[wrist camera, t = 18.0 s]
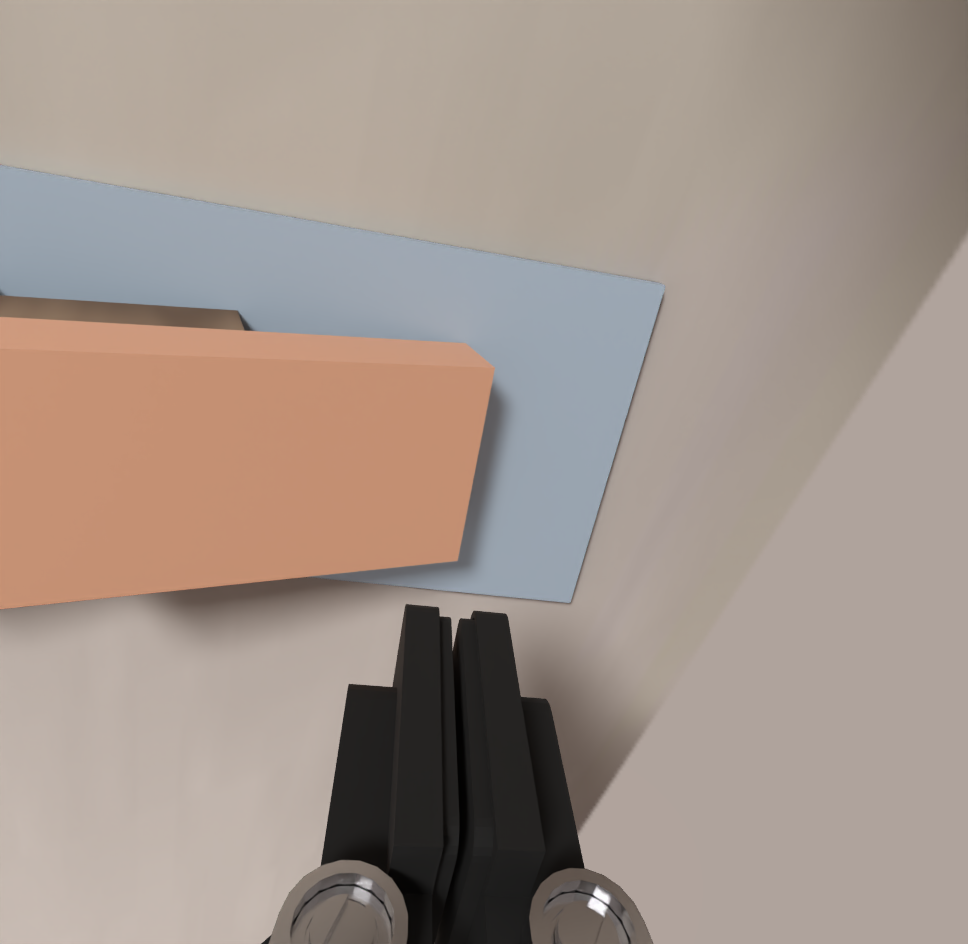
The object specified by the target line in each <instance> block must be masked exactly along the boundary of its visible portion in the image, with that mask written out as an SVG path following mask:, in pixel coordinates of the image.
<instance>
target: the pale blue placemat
mask: <svg viewBox="0 0 968 944" xmlns="http://www.w3.org/2000/svg"><path fill="white" fill-rule="evenodd" d="M664 290H665V285H663V284H661V283H657V282H652V281H646V280H640V279H635V278H629V277H624V276H618V275H612V274H607V273H601V272H596V271H590V270H584V269H579V268H573V267H568V266H562V265H557V264H551V263H545V262H540V261H534V260H529V259H523V258H517V257H512V256H506V255H501V254H495V253H489V252H484V251H478V250H473V249H467V248H462V247H456V246H450V245H445V244H439V243H434V242H428V241H422V240H417V239H411V238H406V237H400V236H395V235H389V234H383V233H378V232H372V231H367V230H361V229H355V228H350V227H344V226H339V225H333V224H327V223H322V222H316V221H311V220H305V219H300V218H294V217H288V216H283V215H277V214H272V213H266V212H260V211H255V210H249V209H244V208H238V207H233V206H227V205H221V204H216V203H210V202H205V201H199V200H193V199H188V198H182V197H177V196H171V195H165V194H160V193H154V192H149V191H143V190H138V189H132V188H126V187H121V186H115V185H110V184H104V183H98V182H93V181H87V180H82V179H76V178H71V177H65V176H59V175H54V174H48V173H43V172H37V171H31V170H26V169H20V168H15V167H9V166H3V165H0V295H3V296H19V297H34V298H50V299H66V300H81V301H97V302H113V303H128V304H144V305H160V306H175V307H191V308H207V309H222V310H237V311H238V314H239V317H240V319H241V322H242V325H243V327H244V330H245V331H261V332H278V333H296V334H314V335H332V336H349V337H367V338H385V339H402V340H420V341H438V342H456V343H466V344H467V345H468V346H470V347H471V348H472V349H473V350H474V351H476V352H477V353H478V354H479V355H480V356H482V357H483V358H484V359H485V360H486V361H488V362H489V363H490V364H491V365H492V366H493V367H495V371H494V376H493V381H492V386H491V391H490V397H489V402H488V407H487V412H486V417H485V422H484V428H483V433H482V438H481V443H480V448H479V453H478V458H477V464H476V469H475V474H474V479H473V484H472V489H471V494H470V500H469V505H468V510H467V515H466V520H465V525H464V531H463V536H462V541H461V546H460V551H459V556H458V561H452V562H443V563H433V564H424V565H414V566H405V567H395V568H386V569H376V570H367V571H357V572H348V573H339V574H329V575H320V576H310V577H313V578H323V579H333V580H343V581H353V582H363V583H373V584H383V585H393V586H403V587H414V588H424V589H434V590H444V591H454V592H464V593H474V594H484V595H494V596H504V597H515V598H525V599H535V600H545V601H555V602H565V603H570V602H571V599H572V595H573V592H574V589H575V586H576V582H577V579H578V576H579V572H580V569H581V566H582V562H583V559H584V556H585V552H586V549H587V546H588V542H589V539H590V536H591V532H592V529H593V526H594V522H595V519H596V516H597V512H598V509H599V506H600V502H601V499H602V496H603V492H604V489H605V486H606V482H607V479H608V476H609V473H610V469H611V466H612V463H613V459H614V456H615V453H616V449H617V446H618V443H619V439H620V436H621V433H622V429H623V426H624V423H625V419H626V416H627V413H628V409H629V406H630V403H631V399H632V396H633V393H634V389H635V386H636V383H637V379H638V376H639V373H640V369H641V366H642V363H643V359H644V356H645V353H646V350H647V346H648V343H649V340H650V336H651V333H652V330H653V326H654V323H655V320H656V316H657V313H658V310H659V306H660V303H661V300H662V296H663V293H664Z"/></svg>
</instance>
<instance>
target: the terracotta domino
mask: <svg viewBox="0 0 968 944" xmlns="http://www.w3.org/2000/svg"><path fill="white" fill-rule="evenodd" d="M494 371H495V367H493V366H492V365H491V364H490V363H489V362H488V361H486V360H485V359H484V358H483V357H482V356H480V355H479V354H478V353H477V352H476V351H474V350H473V349H472V348H471V347H470V346H468V345H467V344H466V343H456V342H438V341H420V340H402V339H385V338H367V337H349V336H332V335H314V334H296V333H278V332H261V331H243V330H225V329H208V328H190V327H172V326H154V325H137V324H119V323H101V322H84V321H66V320H48V319H30V318H13V317H0V609H7V608H16V607H26V606H35V605H45V604H54V603H64V602H73V601H83V600H92V599H102V598H111V597H121V596H130V595H139V594H149V593H158V592H168V591H177V590H187V589H196V588H206V587H215V586H225V585H234V584H244V583H253V582H263V581H272V580H282V579H291V578H301V577H310V576H320V575H329V574H339V573H348V572H357V571H367V570H376V569H386V568H395V567H405V566H414V565H424V564H433V563H443V562H452V561H458V556H459V551H460V546H461V541H462V536H463V531H464V525H465V520H466V515H467V510H468V505H469V500H470V494H471V489H472V484H473V479H474V474H475V469H476V464H477V458H478V453H479V448H480V443H481V438H482V433H483V428H484V422H485V417H486V412H487V407H488V402H489V397H490V391H491V386H492V381H493V376H494Z"/></svg>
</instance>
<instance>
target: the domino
mask: <svg viewBox="0 0 968 944" xmlns="http://www.w3.org/2000/svg"><path fill="white" fill-rule="evenodd" d="M0 317H13V318H30V319H48V320H66V321H84V322H101V323H119V324H137V325H154V326H172V327H190V328H208V329H225V330H243V331H245V330H244V327H243V325H242V322H241V319H240V317H239V314H238V311H237V310H222V309H207V308H191V307H175V306H160V305H144V304H128V303H113V302H97V301H81V300H66V299H50V298H34V297H19V296H3V295H0Z"/></svg>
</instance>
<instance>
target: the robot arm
mask: <svg viewBox="0 0 968 944" xmlns="http://www.w3.org/2000/svg"><path fill="white" fill-rule="evenodd" d="M261 944H653V942H652V939H651V937H650V935H649V932H648V929H647V927H646V924H645V922H644V920H643V918H642V916H641V915H640V913H639V911H638V909H637V907H636V905H635V903H634V902H633V901H632V900H631V898H630V897H629V896H628V895H627V894H626V893H625V892H624V891H623V889H622V888H621V887H620V886H618V885H617V884H615V883H614V882H612V881H611V880H610V879H608V878H607V877H605V876H604V875H602V874H599V873H596V872H593V871H590V870H588V869H585V868H584V863H583V859H582V854H581V849H580V844H579V840H578V835H577V830H576V825H575V821H574V816H573V811H572V806H571V802H570V797H569V792H568V787H567V783H566V778H565V773H564V768H563V764H562V759H561V754H560V749H559V745H558V740H557V735H556V731H555V726H554V721H553V716H552V712H551V708H550V705H549V703H548V701H547V700H546V699H541V698H527V697H521V696H520V690H519V683H518V677H517V671H516V665H515V658H514V652H513V646H512V640H511V634H510V627H509V621H508V617H507V615H506V614H503V613H493V612H482V611H473V613H472V615H471V619H462V618H461V619H460V620H459V623H458V628H457V633H456V638H455V642H454V647H453V651H452V627H451V618H450V617H440V616H439V607H430V606H419V605H409V604H406V606H405V611H404V617H403V623H402V630H401V636H400V643H399V649H398V655H397V662H396V668H395V674H394V681H393V687H382V686H369V685H356V684H349V686H348V691H347V698H346V704H345V711H344V717H343V724H342V730H341V737H340V743H339V750H338V757H337V763H336V770H335V776H334V783H333V789H332V796H331V802H330V809H329V815H328V822H327V829H326V835H325V842H324V848H323V855H322V861H321V866H320V867H318V868H317V869H315V870H314V871H312V872H310V873H309V874H307V875H306V876H304V877H303V878H302V879H301V880H300V881H299V883H298V884H297V885H296V886H295V887H294V888H293V889H292V890H291V891H290V892H289V894H288V896H287V898H286V900H285V902H284V904H283V906H282V908H281V910H280V912H279V915H278V918H277V921H276V924H275V927H274V929H273V932H272V935H271V936H270V937H268V938H267V939H266V940H265V941H264V942H263V943H261Z"/></svg>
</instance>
